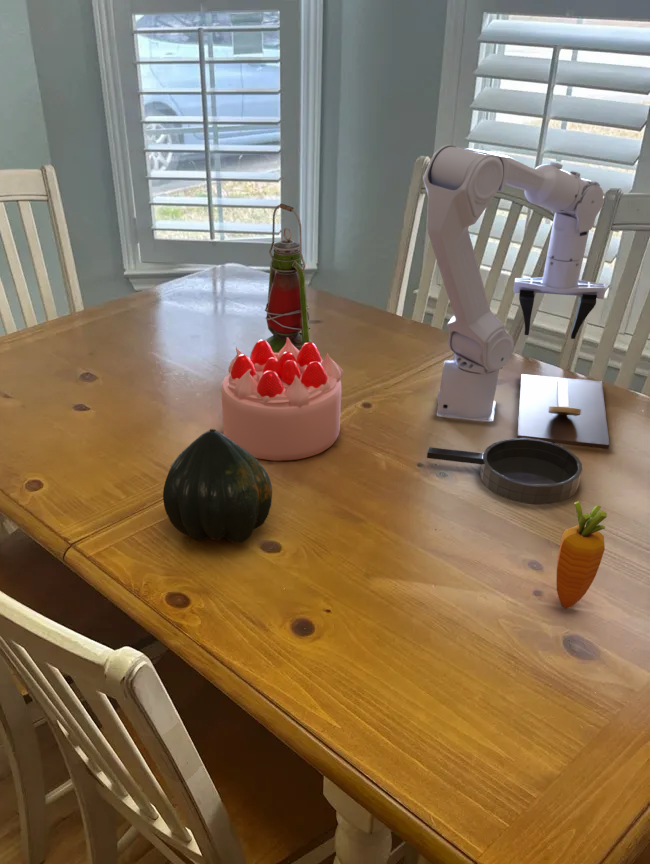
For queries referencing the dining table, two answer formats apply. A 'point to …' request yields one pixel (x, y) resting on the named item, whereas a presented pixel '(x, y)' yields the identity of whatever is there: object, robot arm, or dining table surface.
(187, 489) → the squash
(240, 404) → the cake
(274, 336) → the lantern
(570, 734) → the dining table surface
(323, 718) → the dining table surface
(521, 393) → the board
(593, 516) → the carrot
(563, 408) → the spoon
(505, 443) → the pan
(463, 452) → the pan handle
